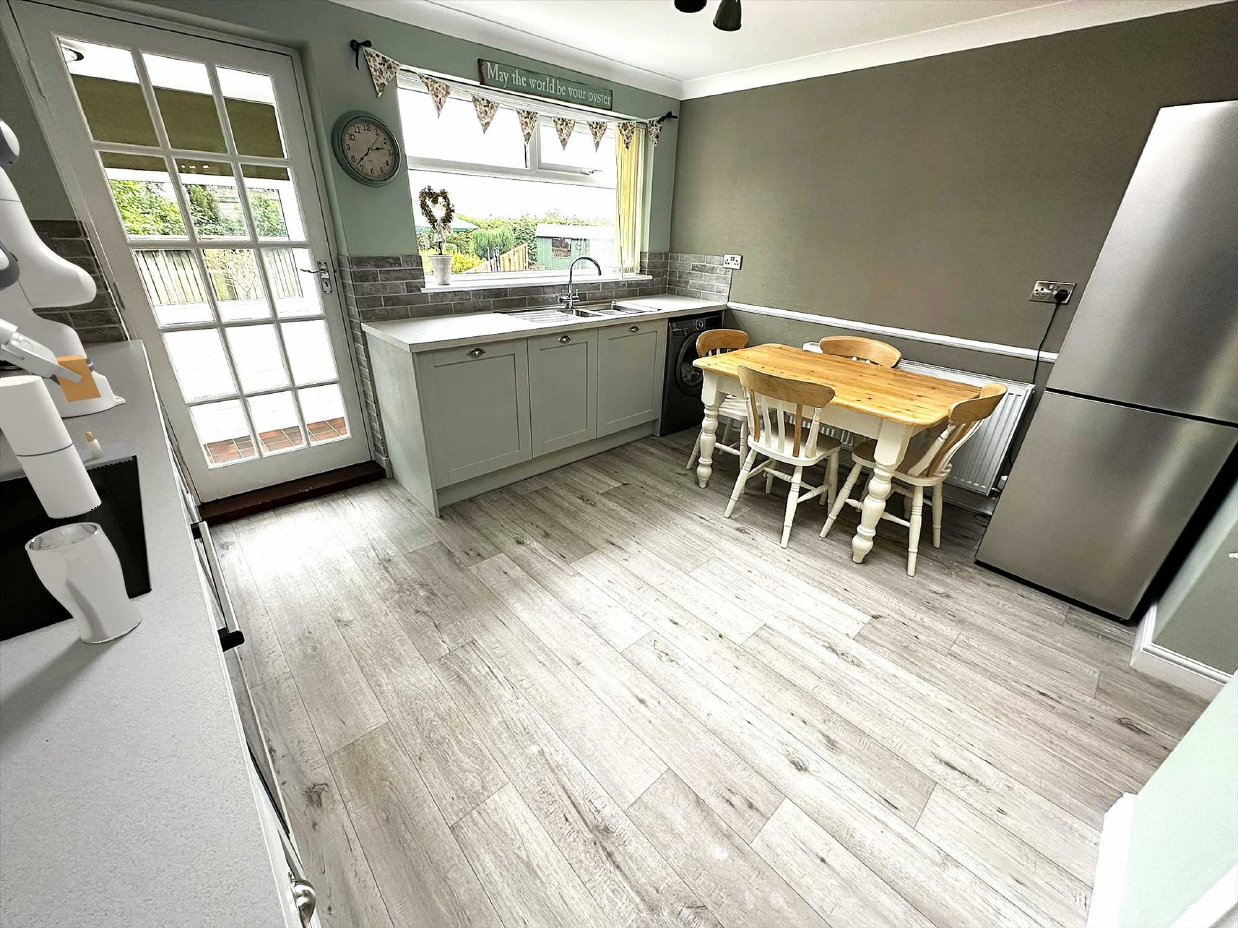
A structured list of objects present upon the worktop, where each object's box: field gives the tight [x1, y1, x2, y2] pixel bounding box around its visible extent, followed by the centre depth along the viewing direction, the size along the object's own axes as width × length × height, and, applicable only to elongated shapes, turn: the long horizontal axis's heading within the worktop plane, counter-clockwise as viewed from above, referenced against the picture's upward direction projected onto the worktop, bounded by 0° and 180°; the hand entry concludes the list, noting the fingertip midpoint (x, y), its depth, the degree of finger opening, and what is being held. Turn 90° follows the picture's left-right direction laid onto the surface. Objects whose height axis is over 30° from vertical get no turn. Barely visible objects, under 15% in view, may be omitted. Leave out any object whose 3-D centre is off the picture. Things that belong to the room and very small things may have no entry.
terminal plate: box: [76, 441, 134, 471], centre depth 113 cm, size 12×10×1 cm
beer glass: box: [24, 521, 143, 644], centre depth 64 cm, size 7×7×15 cm
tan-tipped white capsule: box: [83, 431, 104, 459], centre depth 111 cm, size 2×2×6 cm
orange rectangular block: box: [56, 355, 101, 402], centre depth 113 cm, size 5×5×9 cm
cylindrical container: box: [0, 374, 102, 519], centre depth 89 cm, size 7×7×25 cm
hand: (78, 376), depth 113 cm, fingers closed on orange rectangular block, 5 cm apart
